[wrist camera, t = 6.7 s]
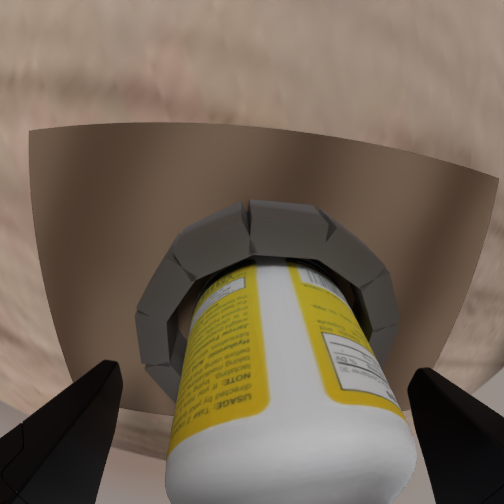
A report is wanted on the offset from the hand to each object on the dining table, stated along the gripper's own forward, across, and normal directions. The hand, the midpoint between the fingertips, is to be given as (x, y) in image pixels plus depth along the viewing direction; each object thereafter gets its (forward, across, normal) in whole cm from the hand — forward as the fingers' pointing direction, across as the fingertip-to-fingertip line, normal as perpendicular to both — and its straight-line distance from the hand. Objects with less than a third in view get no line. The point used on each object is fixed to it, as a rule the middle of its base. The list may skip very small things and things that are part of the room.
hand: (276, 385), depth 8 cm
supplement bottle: (+4, 0, 0) cm, 4 cm away
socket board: (+5, 0, 0) cm, 5 cm away
